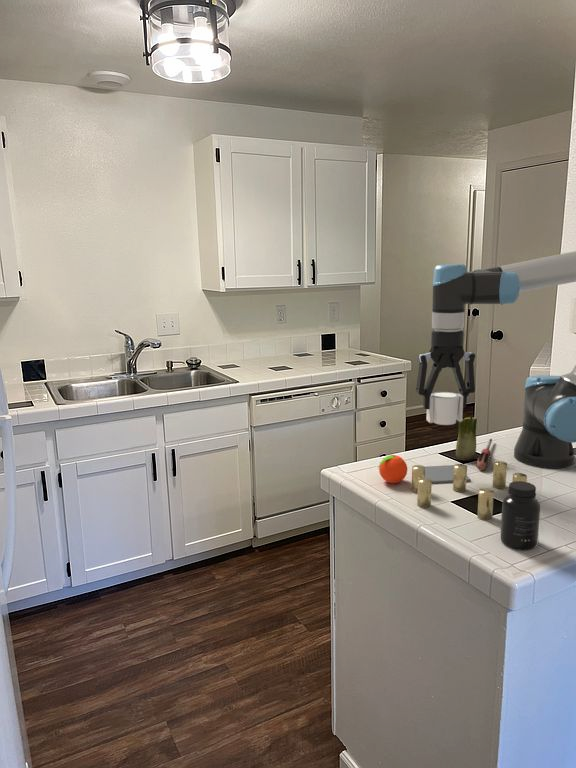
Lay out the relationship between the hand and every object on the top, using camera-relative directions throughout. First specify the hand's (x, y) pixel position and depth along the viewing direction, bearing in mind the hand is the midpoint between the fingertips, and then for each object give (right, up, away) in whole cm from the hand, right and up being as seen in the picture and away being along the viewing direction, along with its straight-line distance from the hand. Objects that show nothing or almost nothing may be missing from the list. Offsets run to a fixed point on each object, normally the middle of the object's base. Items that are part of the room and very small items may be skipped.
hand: (444, 420), depth 145 cm
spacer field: (+3, -18, -13) cm, 22 cm away
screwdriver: (+16, -11, +16) cm, 25 cm away
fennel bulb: (+10, -12, +14) cm, 20 cm away
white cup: (0, 0, 0) cm, 1 cm away
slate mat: (0, -14, +3) cm, 15 cm away
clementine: (-13, -16, -1) cm, 21 cm away
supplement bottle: (+6, -22, -32) cm, 39 cm away
